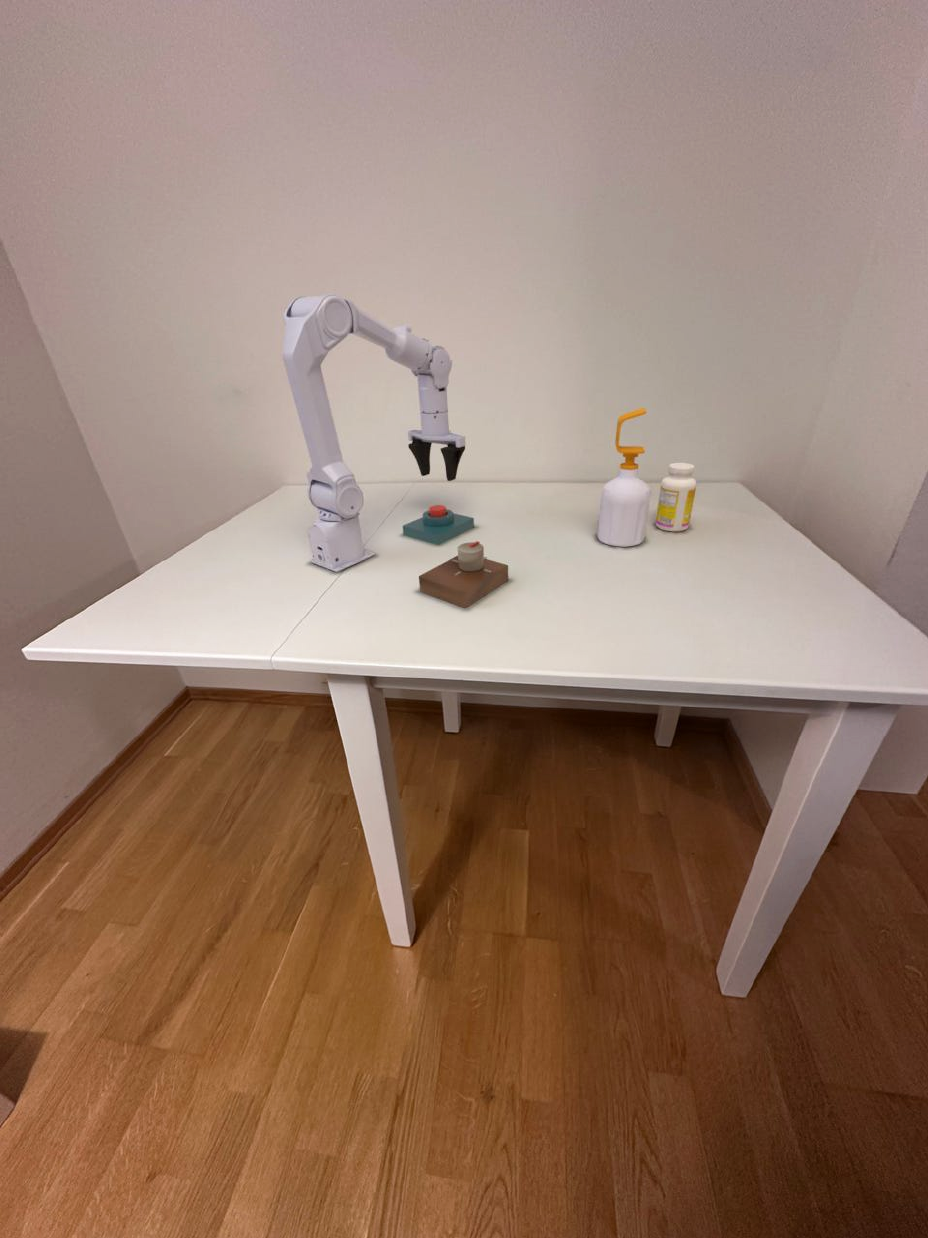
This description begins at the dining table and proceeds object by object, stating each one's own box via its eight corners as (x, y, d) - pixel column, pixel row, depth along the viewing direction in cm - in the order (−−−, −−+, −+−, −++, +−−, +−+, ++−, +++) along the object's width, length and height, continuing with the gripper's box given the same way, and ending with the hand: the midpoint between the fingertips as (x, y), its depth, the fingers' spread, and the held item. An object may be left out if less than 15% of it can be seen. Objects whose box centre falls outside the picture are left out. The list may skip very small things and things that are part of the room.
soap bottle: (645, 548, 99) (666, 413, 86) (597, 546, 100) (610, 414, 88) (641, 531, 106) (659, 405, 94) (596, 530, 108) (608, 405, 95)
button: (438, 519, 107) (438, 511, 106) (426, 516, 109) (425, 508, 108) (449, 514, 110) (449, 506, 109) (437, 511, 112) (436, 503, 111)
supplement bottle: (683, 521, 110) (694, 460, 104) (692, 532, 105) (704, 469, 98) (651, 521, 111) (660, 461, 104) (658, 532, 105) (668, 470, 99)
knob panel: (465, 608, 82) (464, 591, 80) (420, 591, 87) (418, 575, 86) (509, 579, 90) (509, 563, 88) (465, 566, 95) (464, 550, 94)
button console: (438, 545, 105) (436, 526, 102) (403, 535, 110) (401, 517, 108) (474, 527, 112) (473, 509, 110) (440, 518, 118) (439, 502, 116)
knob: (473, 573, 86) (472, 552, 84) (453, 567, 88) (452, 547, 86) (489, 564, 88) (488, 544, 86) (469, 558, 91) (468, 538, 89)
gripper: (473, 410, 104) (475, 477, 111) (421, 406, 112) (426, 468, 119) (451, 416, 99) (454, 485, 106) (398, 411, 107) (405, 475, 114)
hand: (438, 477), depth 112 cm, fingers open, 7 cm apart
